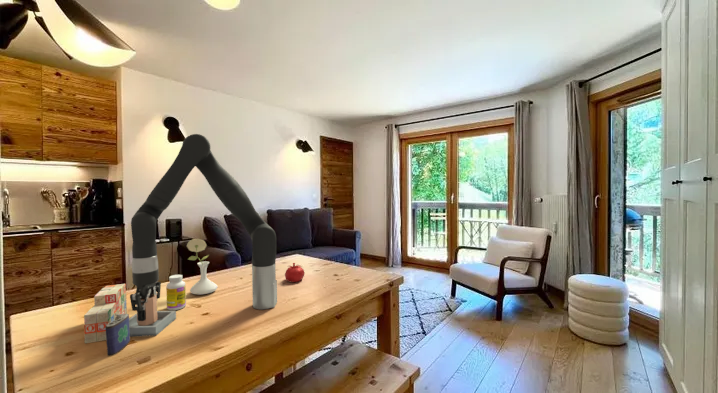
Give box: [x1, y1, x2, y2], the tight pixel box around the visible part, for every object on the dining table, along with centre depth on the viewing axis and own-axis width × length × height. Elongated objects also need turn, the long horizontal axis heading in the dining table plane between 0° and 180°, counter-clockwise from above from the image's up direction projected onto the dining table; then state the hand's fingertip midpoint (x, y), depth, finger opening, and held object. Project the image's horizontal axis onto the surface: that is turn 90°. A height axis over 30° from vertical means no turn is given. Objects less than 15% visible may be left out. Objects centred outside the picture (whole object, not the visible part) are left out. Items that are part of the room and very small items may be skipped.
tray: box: [129, 310, 177, 338], centre depth 110 cm, size 13×13×3 cm
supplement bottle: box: [166, 274, 187, 311], centre depth 127 cm, size 7×7×13 cm
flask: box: [105, 313, 131, 357], centre depth 96 cm, size 9×3×11 cm, turn 8°
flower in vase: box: [186, 238, 218, 295], centre depth 144 cm, size 13×11×25 cm
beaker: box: [137, 295, 158, 326], centre depth 110 cm, size 6×6×9 cm
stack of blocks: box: [83, 283, 128, 344], centre depth 110 cm, size 21×6×12 cm, turn 23°
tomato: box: [284, 262, 306, 283], centre depth 162 cm, size 10×10×9 cm
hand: (147, 316), depth 110 cm, fingers closed on beaker, 5 cm apart
